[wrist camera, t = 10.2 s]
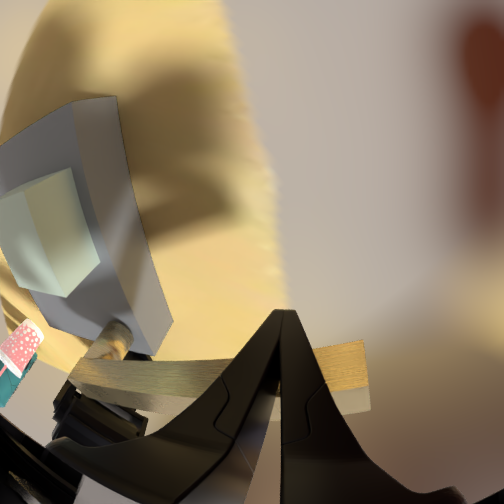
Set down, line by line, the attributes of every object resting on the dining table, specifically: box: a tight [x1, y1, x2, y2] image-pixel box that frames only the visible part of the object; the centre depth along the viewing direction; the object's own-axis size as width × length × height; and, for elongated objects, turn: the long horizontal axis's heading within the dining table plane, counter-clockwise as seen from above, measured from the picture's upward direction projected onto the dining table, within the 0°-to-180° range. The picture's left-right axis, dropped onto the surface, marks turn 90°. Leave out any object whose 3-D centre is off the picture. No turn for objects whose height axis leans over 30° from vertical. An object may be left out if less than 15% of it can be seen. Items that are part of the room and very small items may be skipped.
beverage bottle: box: [0, 352, 37, 407], centre depth 28 cm, size 6×7×20 cm
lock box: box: [0, 96, 173, 356], centre depth 17 cm, size 18×14×4 cm
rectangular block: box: [0, 167, 100, 297], centre depth 12 cm, size 6×6×4 cm
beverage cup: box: [0, 318, 44, 378], centre depth 27 cm, size 6×6×14 cm
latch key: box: [67, 321, 371, 421], centre depth 13 cm, size 17×2×6 cm, turn 112°
